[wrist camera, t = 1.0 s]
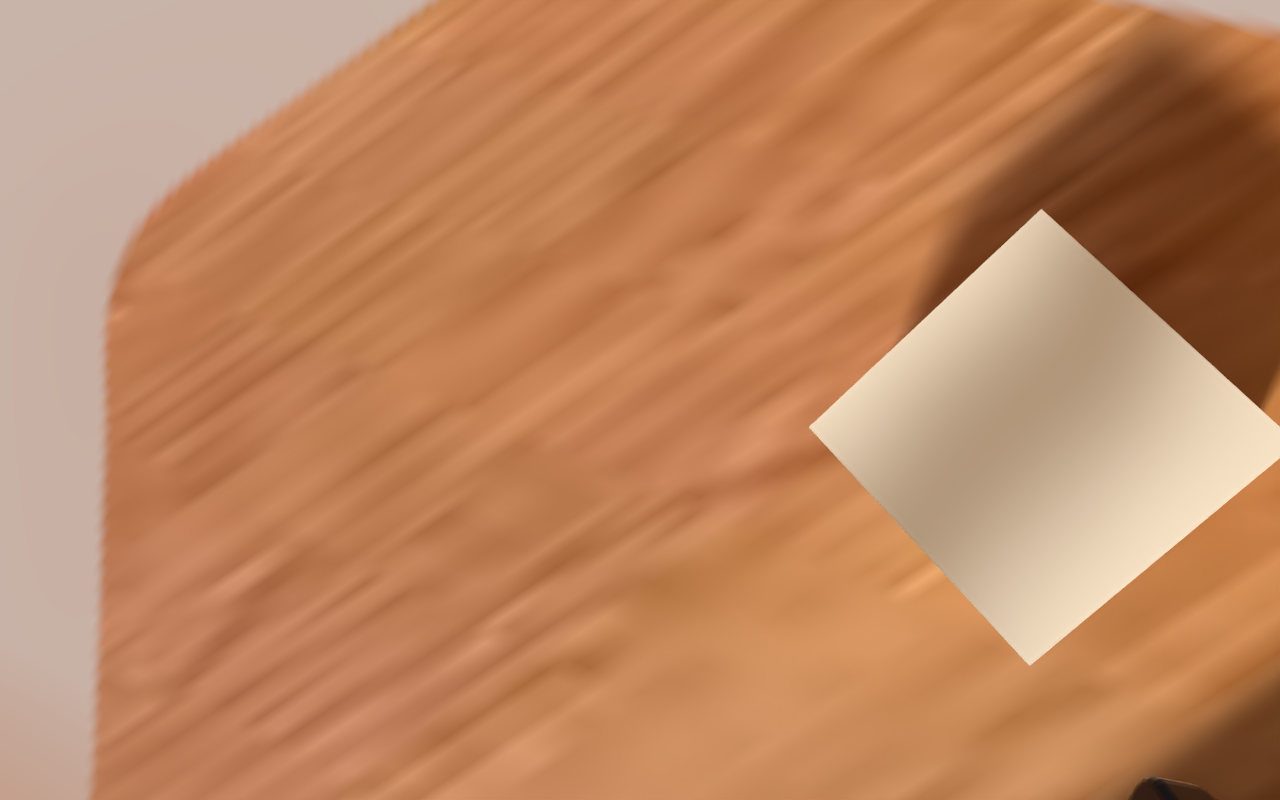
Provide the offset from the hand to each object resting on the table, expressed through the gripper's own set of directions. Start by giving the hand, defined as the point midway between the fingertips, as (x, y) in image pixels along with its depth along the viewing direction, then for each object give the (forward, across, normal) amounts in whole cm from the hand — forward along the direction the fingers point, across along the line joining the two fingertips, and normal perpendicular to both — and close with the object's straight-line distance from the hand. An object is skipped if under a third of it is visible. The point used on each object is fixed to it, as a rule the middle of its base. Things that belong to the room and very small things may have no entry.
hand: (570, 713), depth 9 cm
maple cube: (+13, -8, +3) cm, 16 cm away
